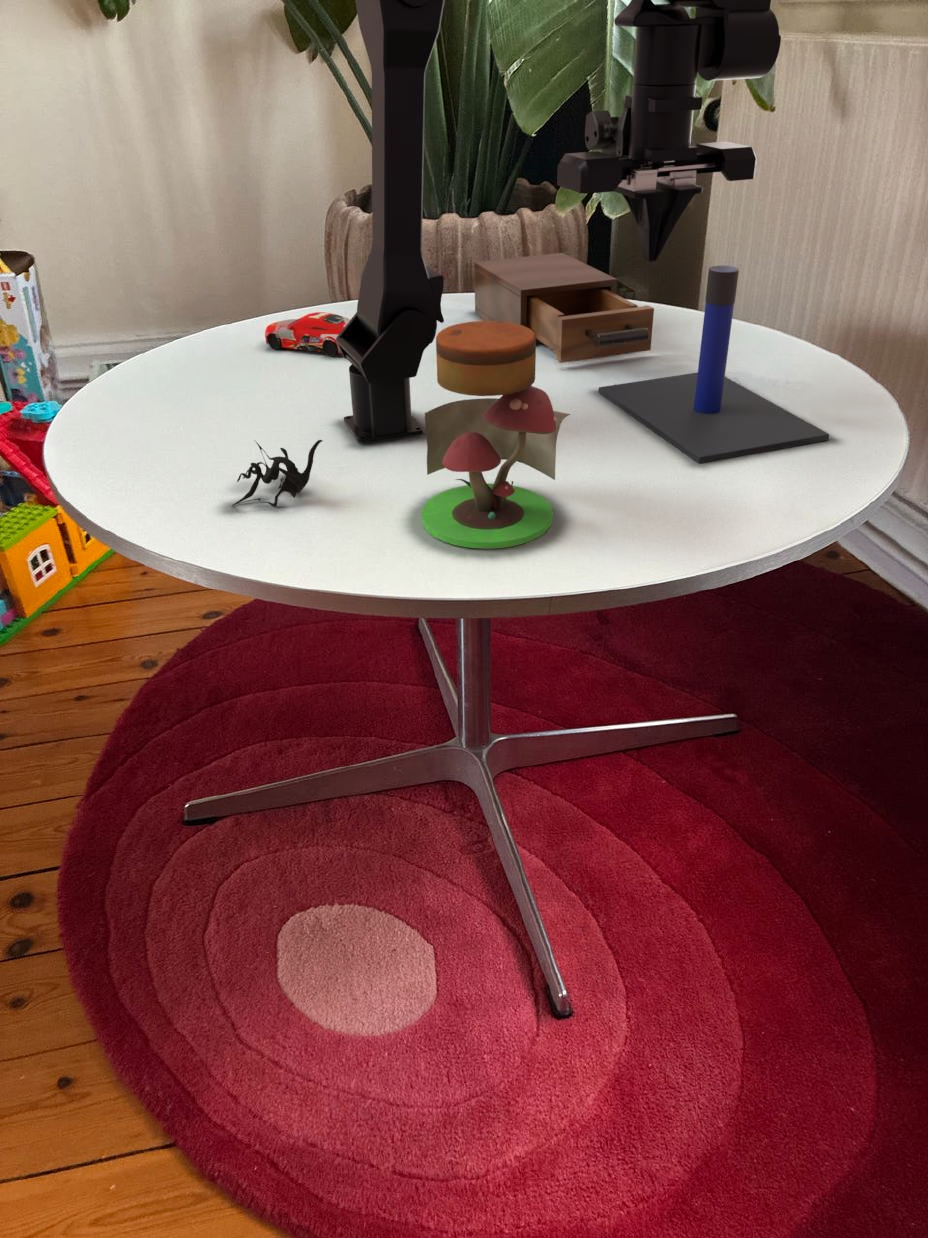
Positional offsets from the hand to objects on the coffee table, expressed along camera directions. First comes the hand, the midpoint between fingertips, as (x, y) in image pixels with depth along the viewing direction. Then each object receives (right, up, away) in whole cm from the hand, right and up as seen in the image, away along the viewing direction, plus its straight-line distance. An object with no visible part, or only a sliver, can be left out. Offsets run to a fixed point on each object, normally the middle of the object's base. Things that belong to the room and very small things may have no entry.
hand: (650, 260), depth 97 cm
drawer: (-4, -3, +17) cm, 18 cm away
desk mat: (+6, -16, 0) cm, 17 cm away
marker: (+6, -15, -1) cm, 16 cm away
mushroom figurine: (-16, -28, -18) cm, 37 cm away
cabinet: (-9, +2, +28) cm, 29 cm away
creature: (-35, -26, -14) cm, 46 cm away
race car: (-37, -3, +21) cm, 42 cm away
